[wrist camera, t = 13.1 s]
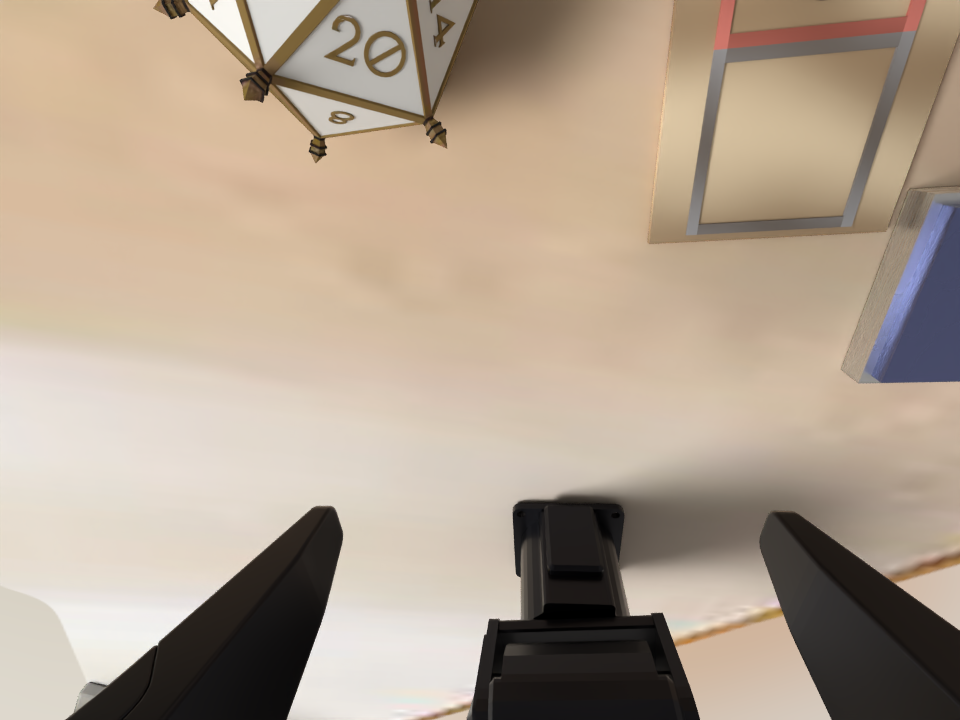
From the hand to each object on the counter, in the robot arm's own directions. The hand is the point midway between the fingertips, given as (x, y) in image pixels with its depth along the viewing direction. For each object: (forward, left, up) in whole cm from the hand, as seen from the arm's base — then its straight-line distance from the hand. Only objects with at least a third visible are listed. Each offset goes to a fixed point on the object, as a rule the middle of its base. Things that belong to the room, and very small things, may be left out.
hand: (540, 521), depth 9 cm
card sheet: (+9, -10, -12) cm, 18 cm away
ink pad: (0, -18, -12) cm, 22 cm away
